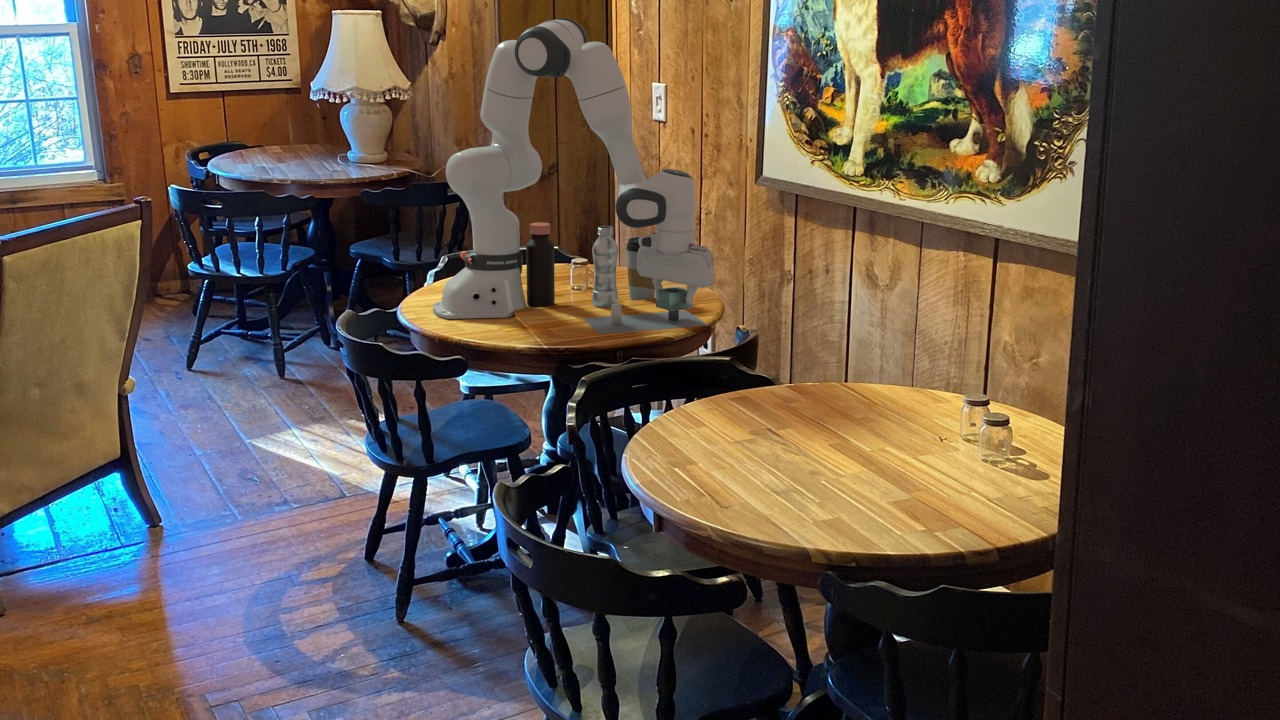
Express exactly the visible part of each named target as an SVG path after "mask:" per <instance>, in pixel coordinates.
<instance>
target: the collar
mask: <svg viewBox="0 0 1280 720" xmlns="http://www.w3.org/2000/svg"><path fill="white" fill-rule="evenodd" d="M688 291H689V290H687V288H683V287H679V286H673V287H667V288H663V289H658V290H656V289H655V307H656V308H658V309H662V310H666V311H668V312H669V311H677V310H679V311H684V310H688V309H692V308H693V303H692V304H686V303H683V300H684V299H683V296H685V295H687V293H688Z"/></svg>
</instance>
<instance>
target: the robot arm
mask: <svg viewBox="0 0 1280 720" xmlns="http://www.w3.org/2000/svg"><path fill="white" fill-rule="evenodd" d="M563 76H566V77H567V78H568V80H570V82H571V83H572V85H573V88H574V91H575V94H576V97H577V100H578V104H579V107H580V110H581V113H582V114H583V116H584V119H585V120H586V123H587V124H588V126H589V128H590V130H591V131H592V132H594V133H595V134H596V135H597V136H598V137H599V138H600V139H601V141H602V142H603V144H604V145H605V147H606V148H607V151H608V154H609V157H610V161H611V163H612V166H613V168H614V172H615V176H616V179H617V194H616V202H615V213H616V216H617V218H618V220H619V221H620V222H621V223H622V224H623V225H625V226H626V227H629V228H633V229H640V228H647V227H652V226H656V228H655V231H656V232H653V233H651V234H647V235H642V236H640V238H639V245H640V246H641V247H640V248H639V250H638V256H637V271H638V273H639V275H640V276H644V277H649V278H653V285H654V287H655V291H656V290H658V289H664V286H663V284H662V283H663V282H665V281H666V282H671V283H675V284H679V285H680V284H681V285H686V289H687V290H689V291H688V293H687V295H685V296H683V299H684V300H683V303H686V304H692V305H693V303H694V295H695V294H696V292H697V290H698V288H700V289H704V288H705V289H706V288H708V287H711V286H713V283H714V281H715V279H714V278H715V274H714V265H713V264H714V263H713V253H712V252H711V250H710V249H709V248H708V247H707V246H706V245H698V244H696V225H695V221H694V220H695V219H694V218H695V213H696V207H697V206H696V205H697V199H696V197H697V196H696V186H695V185H696V184H695V180H694V178H693V177H692V176H691V175H690V174H689V173H688V172H685V171H682V170H678V169H674V168H673V169H672V168H665V169H661V170H660V171H659V172H657V173H656V174H654V175H653V176H651V177H648V176H647V175H646V173H645V172H644V169H643V166H642V163H641V159H640V157H639V153H638V150H637V148H636V145H635V141H634V137H633V115H632V105H631V100H630V96H629V91H628V88H627V84H626V81H625V79H624V75H623V73H622V70H621V67H620V65H619V63H618V61H617V58H616V57H615V54H614V53H613V51H612V50H611V48H610V47H609V46H608V45H607V44H606V43H604V42H600V41H589V38H588V34H587V31H586V30H585V28H584V27H583V26H582V25H581V24H580V23H579V22H578V21H575V20H574V19H570V18H565V17H563V18H557V19H552V20H546V21H543V22H541V23H539V24H537V25H535V26H532V27H529V28H527V29H525V30H524V31H523V32H522V33H521V34H520V36H518V38H517V39H509V40H504V41H502V42H500V43H499V44H498V45H497V46H496V47H495V50H494V52H493V55H492V57H491V61H490V63H489V67H488V70H487V73H486V79H485V85H484V90H483V95H482V102H481V105H480V106H481V107H480V114H479V116H480V120H481V122H482V124H483V125H484V126H485V127H486V128H487V129H488V130H490V131H491V135H492V137H491V139H492V140H491V143H490V145H489V146H481V147H471V148H467V149H464V150H461V151H459V152H456V153H454V154H452V155H451V156H450V157H449V158H448V160H447V163H446V167H445V178H446V182H447V184H448V185H449V187H450V189H451V190H452V191H453V192H454V193H456V194H457V195H458V196H459V197H460V198H461V199H462V200H463V202H464V204H465V206H466V208H467V210H468V213H469V216H470V221H471V230H472V250H471V251H470V252H469V253H468V251H466V250H462V251H461V252H460V255H459V256H460V258H461V259H462V260H463V261H464V263H465V264H464V265H465V267H464V268H462V269H461V270H460V271H459V272H458V273H456V274H455V275H454V276H453V277H451V278H450V279H449V280H447V282H445V284H444V286H443V289H442V297H441V300H440V301H437V302H435V303H434V304H432V305H433V306H432V311H433V312H434V314H435V315H436V316H438V317H440V318H443V319H447V320H450V319H451V320H452V319H453V320H455V319H456V320H457V319H459V320H460V319H496V318H499V319H502V318H506V319H507V318H510V317H512V316H514V315H515V311H519V310H521V309H528V304H527V300H526V297H525V294H524V288H523V281H522V271H523V254H522V250H520V248H521V247H520V245H521V244H520V241H521V240H520V221H519V218H518V216H517V215H516V214H515V212H513V211H511V210H510V209H509V208H508V209H507V207H506V205H505V203H504V198H503V193H507V192H514V191H520V190H522V189H526V188H528V187H530V186H532V185H535V184H536V183H538V181H539V179H540V177H541V175H542V171H543V164H542V163H543V162H542V159H541V157H540V155H539V152H538V151H537V150H536V149H535V148H534V147H533V145H532V143H531V140H530V135H529V122H530V116H531V108H532V103H533V98H534V93H535V89H536V88H535V87H536V83H537V79H538V77H539V78H562V77H563Z"/></svg>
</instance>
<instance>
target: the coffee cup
mask: <svg viewBox="0 0 1280 720" xmlns="http://www.w3.org/2000/svg"><path fill="white" fill-rule="evenodd" d="M640 237H641V236H640ZM640 237H639V236H638V237H631V238H628V239H627V243H626V246H625V247H626V248H625V249H626V254H627V255H626V259H627V281H628V293H629V297H630V300H632V301H647V300H649V301H650V300H654V298H656V289H655V287H654V285H653V278H649V277H644V276H640V275H639V273H638V271H637V256H638V250H639V248H640V247H641V246H640V245H639V238H640Z"/></svg>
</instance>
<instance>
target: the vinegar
mask: <svg viewBox="0 0 1280 720" xmlns="http://www.w3.org/2000/svg"><path fill="white" fill-rule="evenodd" d="M529 234H530V235H529V236H530V237H531V238H530V240H529V241H528V242H527V243H526V245H525V246H526V249H525V252H526V253H525V255H526V257H525V258H526V260H525V261H526V304H527V306H529V307H531V308H545V307H546V308H547V307H552V306H554V305H555V299H556V298H555V295H556V294H555V293H556V292H555V285H556V284H555V244H554V242H553V241H552V240H551V239H550V236H551V223H549V222H543V221H542V222H532V223H529Z"/></svg>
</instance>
